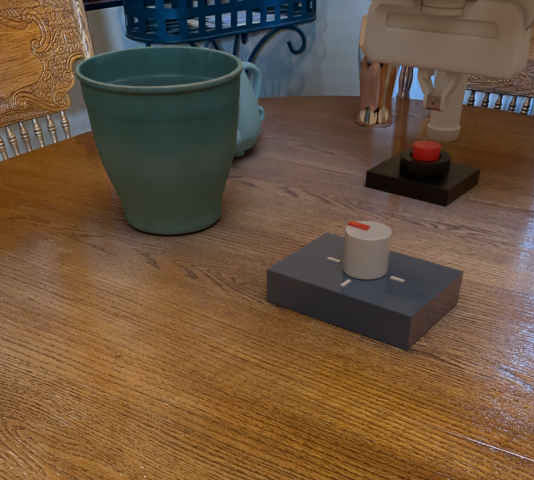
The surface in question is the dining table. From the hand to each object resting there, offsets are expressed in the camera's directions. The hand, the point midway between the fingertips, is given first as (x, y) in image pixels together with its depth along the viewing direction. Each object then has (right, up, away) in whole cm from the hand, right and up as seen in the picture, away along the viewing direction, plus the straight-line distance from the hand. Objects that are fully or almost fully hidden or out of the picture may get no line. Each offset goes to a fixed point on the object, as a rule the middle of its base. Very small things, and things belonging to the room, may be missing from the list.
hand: (435, 109), depth 89 cm
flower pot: (-33, -15, -1) cm, 36 cm away
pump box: (0, -7, +6) cm, 10 cm away
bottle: (+6, +7, +22) cm, 24 cm away
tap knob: (-12, -26, -20) cm, 35 cm away
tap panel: (-12, -29, -18) cm, 36 cm away
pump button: (0, -4, +4) cm, 6 cm away
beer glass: (-4, +13, +29) cm, 31 cm away
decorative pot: (-31, +3, +17) cm, 35 cm away
